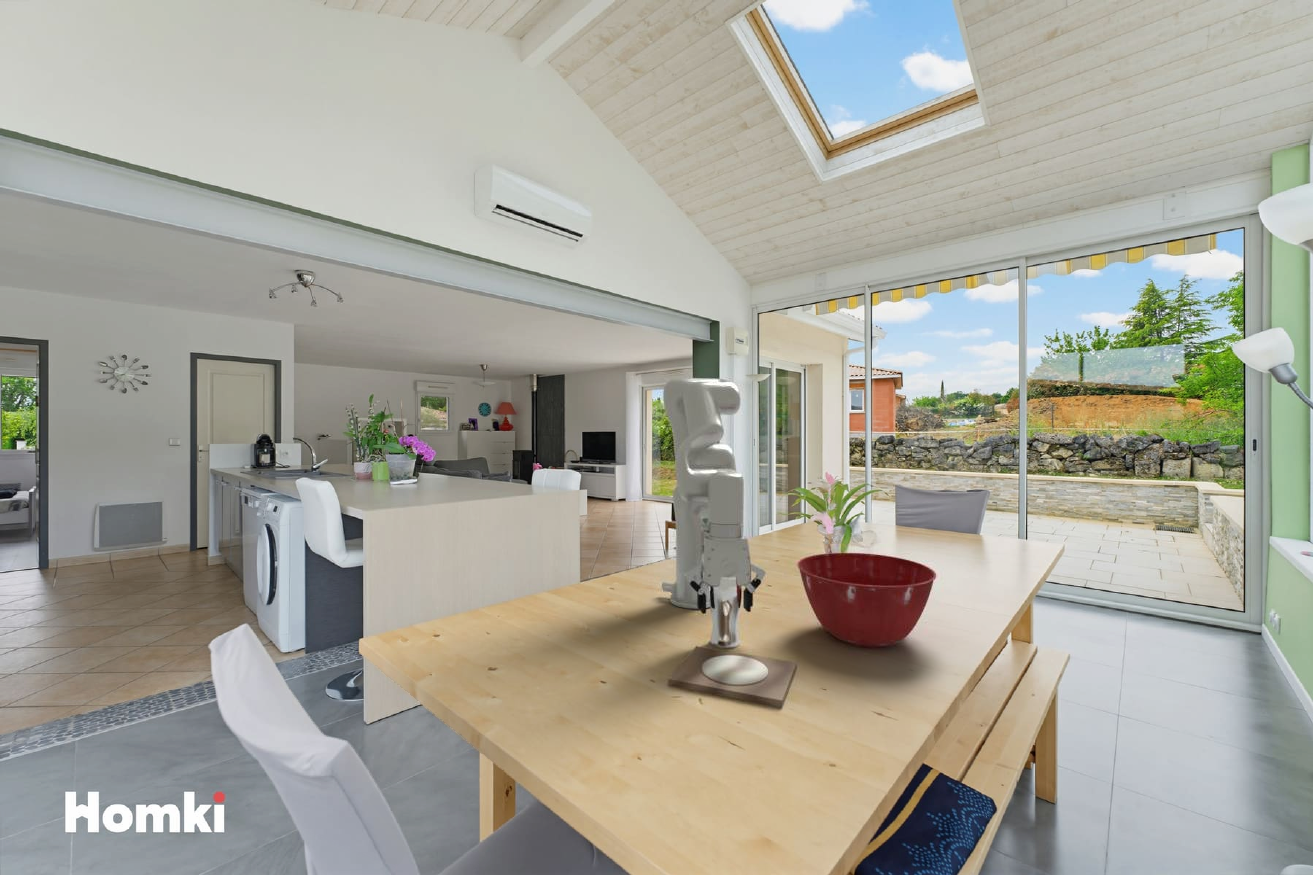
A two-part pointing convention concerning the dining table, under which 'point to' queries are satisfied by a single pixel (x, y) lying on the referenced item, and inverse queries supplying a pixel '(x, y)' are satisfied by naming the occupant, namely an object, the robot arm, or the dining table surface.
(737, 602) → the silver metal tumbler
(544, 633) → the dining table surface
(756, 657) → the walnut board
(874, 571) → the mixing bowl
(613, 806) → the dining table surface
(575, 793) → the dining table surface
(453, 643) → the dining table surface
